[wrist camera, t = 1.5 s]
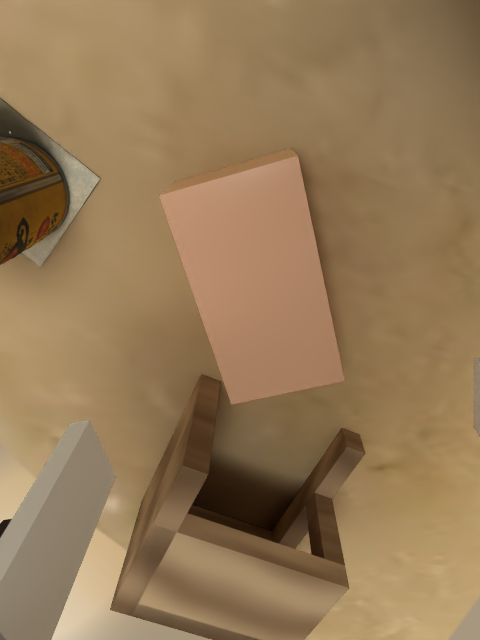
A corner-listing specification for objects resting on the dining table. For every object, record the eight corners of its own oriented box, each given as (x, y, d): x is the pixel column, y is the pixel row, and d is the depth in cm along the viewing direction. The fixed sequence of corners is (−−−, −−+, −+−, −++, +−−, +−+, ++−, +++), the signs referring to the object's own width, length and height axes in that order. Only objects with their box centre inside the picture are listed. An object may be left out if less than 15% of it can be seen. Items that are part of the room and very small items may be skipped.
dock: (201, 374, 32) (182, 465, 24) (359, 435, 33) (392, 538, 25) (141, 501, 37) (110, 609, 29) (279, 546, 39) (285, 661, 31)
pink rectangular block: (175, 180, 26) (158, 195, 22) (290, 147, 25) (297, 155, 21) (234, 362, 31) (231, 404, 27) (331, 341, 30) (344, 381, 26)
